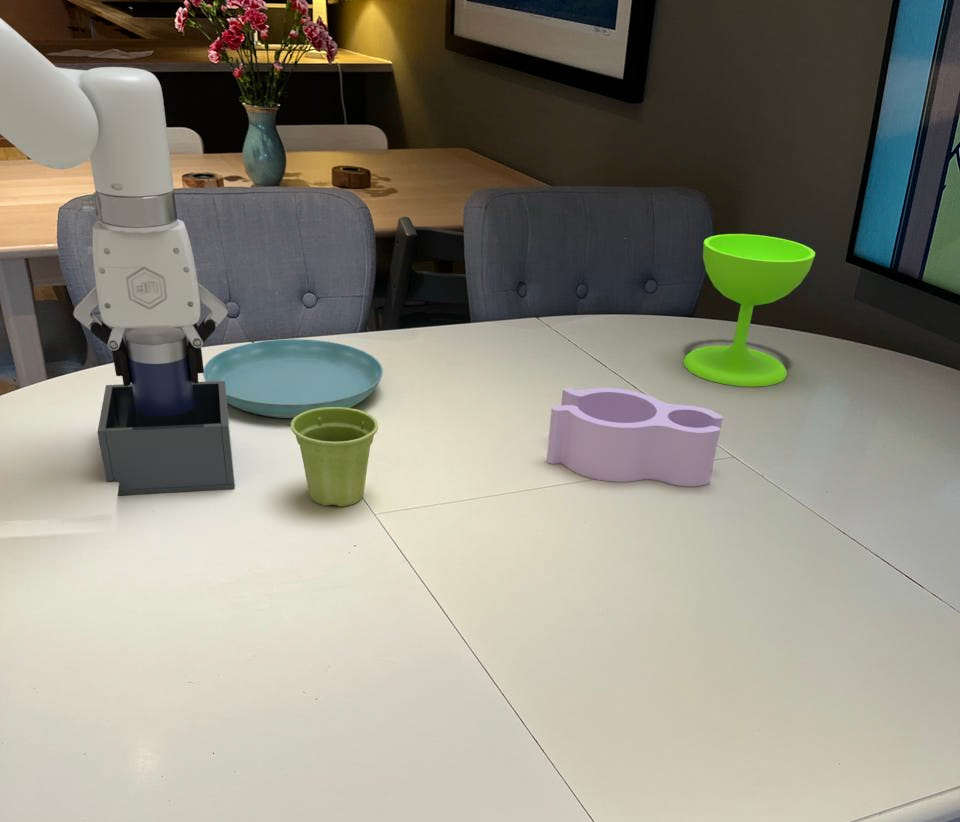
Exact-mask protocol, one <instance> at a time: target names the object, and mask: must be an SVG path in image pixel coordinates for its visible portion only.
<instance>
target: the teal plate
mask: <svg viewBox="0 0 960 822" xmlns="http://www.w3.org/2000/svg"><path fill="white" fill-rule="evenodd" d="M203 368H204V373H202V376H203V378H204V382H207V381H225V385H226V395H227V404H229V405H231V406H232V407H235V408H237V409H238V410H242V411H243V412H248V413H251V414H254V415H258V416H263V417H269V418H278V419H294V418H295V417H296V416H298V415H299V414H301V413H303V412H306V411H309V410H312V409H317V408H325V407H343V408H353V407H354V406H356V405H358V404H360V403H361V402H362V401H364V400H365V399H366V398H368V397H369V396H370V395H371V394H372V393H373V392H374V391H375V389H376V388H377V387H378V385H379V384H380V382H381V380H382V377H383V375H384V369H383V366H382V363H380V361H379V360H378V359H376V358H375V357H374V356H373V355H372V354H370V353H367V352H366V351H364V350H362V349H359V348H357V347H354V346H350V345H346V344H342V343H338V342H332V341H326V340H317V339H304V338H303V339H302V338H301V339H300V338H285V339H284V338H282V339H271V340H263V341H256V342H250V343H246V344H240V345H238V346H234V347H231V348H229V349H226V350H224V351H221V352H220V353H219V352H218V354H216V355H214V356H213V357H211V358H210V359H209V360H208V361H207V362H206V363H205V365H204V366H203Z"/></svg>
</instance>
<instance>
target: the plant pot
mask: <svg viewBox="0 0 960 822" xmlns="http://www.w3.org/2000/svg"><path fill="white" fill-rule="evenodd" d="M290 429H291V431H292V433H293V434H294V436H295V438H296V442H297V444H298V445H299V448H300V454H301V459H302V464H303V468H304V469H303V470H304V473H305V479H306V483H307V489H308V495H309V497H310V499H311V500H312V501H313V502H315V503H316V504H319V505H322V506H326V507H327V506H330V505H333V506H338V507H347V506H348V507H349V506H352V505H354V504H356V503H358V502H359V501H361V500H362V499H363V496H364V494H365V488H366V480H367V472H368V465H369V457H370V450H371V445H372V444H373V443H374V437H375V435H376V434H377V432H378V429H379V422H378V420H377V419H376V418H375V417H374V416H373V415H372V414H371V413H368V412H366V411H364V410H360V409H356V408H352V407H350V408H343V407H325V408H317V409H312V410H309V411H306V412H303V413H301V414H299V415H298V416H296V417H295V418H292V420H291V422H290Z"/></svg>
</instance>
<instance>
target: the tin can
mask: <svg viewBox="0 0 960 822" xmlns="http://www.w3.org/2000/svg"><path fill="white" fill-rule="evenodd" d="M187 339H188V338H187V336H186V334H185V333H184V331H183V329H181V328H179V327H164V328H133V329H131V330H129V331H128V332H126V333H124V341H125V344H126V350H127V359H128V366H129V372H130V378H131V385H132V391H133V397H134V404H135V408H136V413H137V420H138V425H139V427H153V426H175V425H195V423H196V413H195V401H194V393H193V385H192V382H191V374H190V366H189V358H188V340H187Z"/></svg>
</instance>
